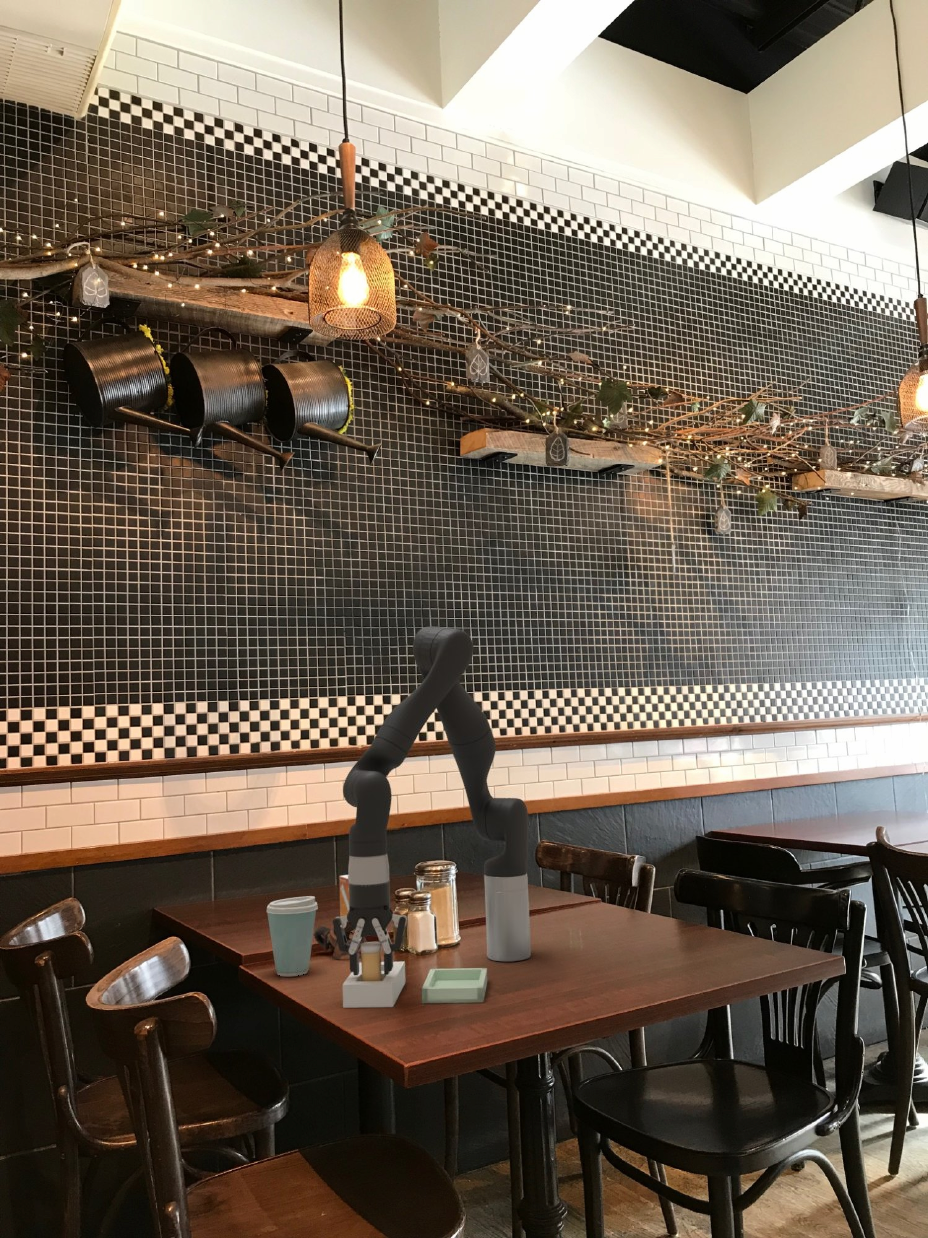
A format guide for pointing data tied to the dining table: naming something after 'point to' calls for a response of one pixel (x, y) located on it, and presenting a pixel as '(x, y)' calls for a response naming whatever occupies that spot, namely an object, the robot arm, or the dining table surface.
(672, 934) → the dining table surface
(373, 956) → the fuse
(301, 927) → the disposable coffee cup
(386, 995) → the frame
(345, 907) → the small box
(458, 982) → the parts tray
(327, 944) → the pottery mug
